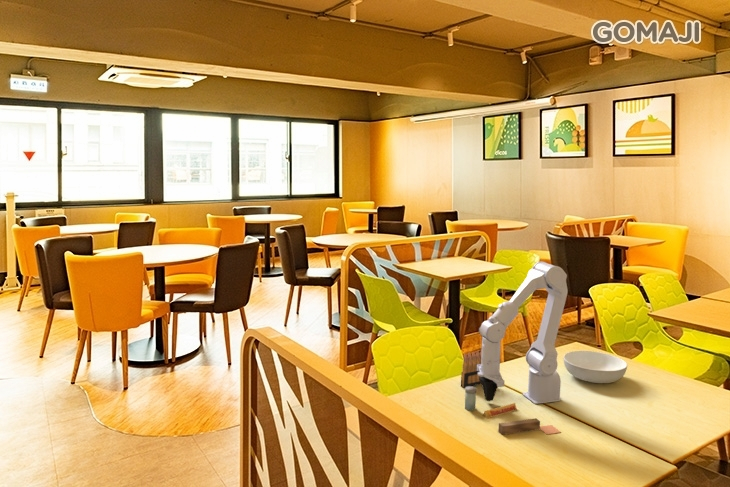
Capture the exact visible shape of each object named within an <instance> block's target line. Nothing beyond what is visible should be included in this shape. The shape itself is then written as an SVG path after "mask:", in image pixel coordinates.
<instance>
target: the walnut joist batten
mask: <svg viewBox="0 0 730 487" xmlns="http://www.w3.org/2000/svg"><path fill="white" fill-rule="evenodd" d="M540 427H541V420H539V419H538V417H537V418H528V419H527V418H526V419H522V420H520V419H519V420H515V421H514V420H513V421H504V422H499V423H498V428H497V429H498V430H497V431H498V433H499V434H500V435H501V436H504V435H510V434H519V433H526V432H532V431H538V430H541V429H540Z"/></svg>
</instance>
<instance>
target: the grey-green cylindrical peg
mask: <svg viewBox="0 0 730 487" xmlns="http://www.w3.org/2000/svg"><path fill="white" fill-rule="evenodd" d="M464 392H465V394H464V396H465V398H464V409H465V410H466V411H469V412H471V411H472V412H473V411H475V410H476V401H477V400H476V399H477V397H476V396H477V387H476V386H468V387H466V388H464Z"/></svg>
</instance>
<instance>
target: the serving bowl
mask: <svg viewBox="0 0 730 487" xmlns="http://www.w3.org/2000/svg"><path fill="white" fill-rule="evenodd" d="M562 359H563V365H564V367H565V369H566V371H567V372H568V373H569V374H570V375H571V376H573V377H574V378H576V379H579V380H581V381H585V382H587V381H588V382H589V383H593V384H610V383H614V382H617V381H619V380H620V379H622V378H623V377H624V376H625V374H626V372H627V368H628V363H627V362H626V361H625V360H623V359H622V358H621V357H618V356H616V355H612V354H609V353H606V352H600V351H594V350H573V351H569V352H566V353H565V354H563V358H562Z"/></svg>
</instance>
